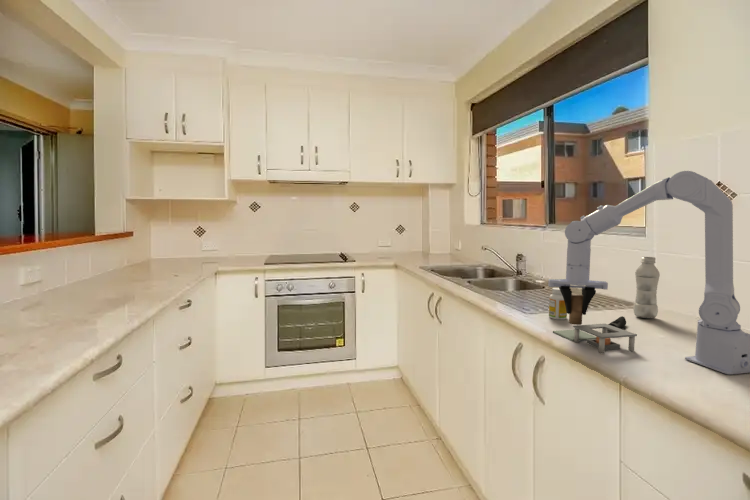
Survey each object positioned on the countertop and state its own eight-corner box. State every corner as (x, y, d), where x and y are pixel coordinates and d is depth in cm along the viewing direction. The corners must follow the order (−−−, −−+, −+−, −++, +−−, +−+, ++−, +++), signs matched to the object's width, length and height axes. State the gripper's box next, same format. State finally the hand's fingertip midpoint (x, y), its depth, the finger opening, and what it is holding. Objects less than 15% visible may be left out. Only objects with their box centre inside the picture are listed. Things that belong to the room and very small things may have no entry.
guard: (636, 351, 96) (637, 334, 96) (601, 353, 94) (602, 337, 93) (604, 338, 106) (605, 323, 105) (572, 341, 104) (573, 325, 103)
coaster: (598, 339, 105) (598, 337, 105) (572, 341, 104) (572, 339, 104) (577, 330, 113) (577, 329, 113) (552, 332, 111) (553, 330, 111)
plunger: (613, 347, 98) (613, 339, 98) (602, 347, 98) (602, 340, 98) (603, 343, 102) (603, 335, 101) (592, 343, 101) (593, 336, 101)
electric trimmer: (629, 327, 119) (630, 316, 118) (617, 337, 108) (617, 326, 107) (615, 324, 121) (616, 314, 121) (601, 334, 110) (602, 323, 110)
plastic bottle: (662, 320, 124) (665, 258, 122) (638, 320, 125) (642, 258, 123) (650, 315, 130) (654, 256, 128) (628, 315, 131) (632, 256, 129)
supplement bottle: (567, 317, 128) (568, 288, 128) (565, 320, 124) (567, 290, 123) (549, 314, 131) (550, 286, 130) (547, 318, 127) (548, 289, 126)
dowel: (580, 322, 109) (581, 294, 108) (583, 325, 106) (584, 296, 105) (567, 321, 110) (569, 293, 109) (570, 324, 107) (571, 295, 106)
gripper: (551, 265, 105) (549, 315, 106) (612, 267, 101) (609, 318, 102) (547, 262, 111) (545, 309, 113) (604, 264, 108) (601, 312, 109)
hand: (575, 313), depth 108 cm, fingers closed on dowel, 3 cm apart
